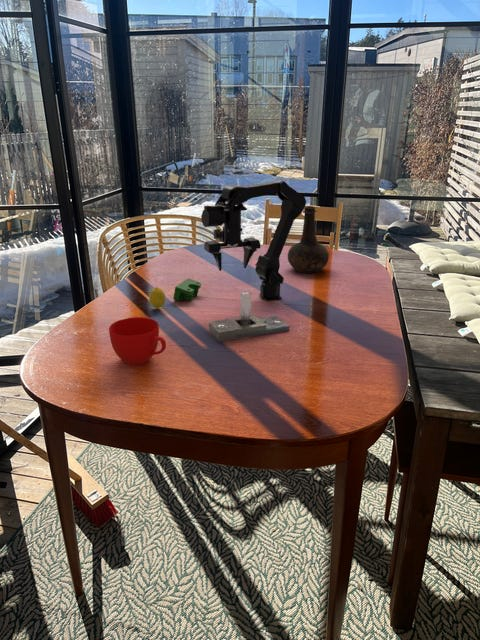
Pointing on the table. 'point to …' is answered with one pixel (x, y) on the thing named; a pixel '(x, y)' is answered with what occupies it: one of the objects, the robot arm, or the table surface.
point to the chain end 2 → (267, 327)
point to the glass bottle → (308, 247)
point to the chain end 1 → (234, 328)
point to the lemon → (157, 298)
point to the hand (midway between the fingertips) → (232, 269)
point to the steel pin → (245, 309)
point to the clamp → (186, 290)
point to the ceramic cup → (135, 339)
